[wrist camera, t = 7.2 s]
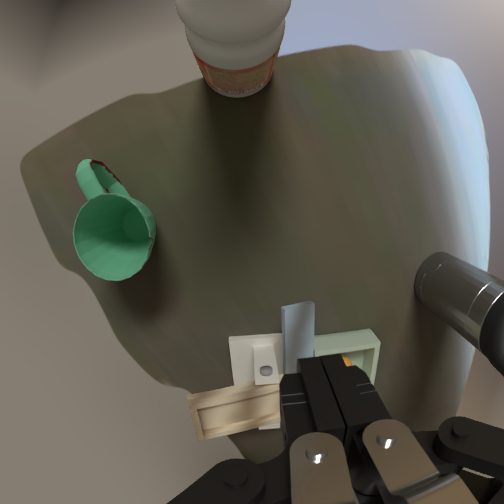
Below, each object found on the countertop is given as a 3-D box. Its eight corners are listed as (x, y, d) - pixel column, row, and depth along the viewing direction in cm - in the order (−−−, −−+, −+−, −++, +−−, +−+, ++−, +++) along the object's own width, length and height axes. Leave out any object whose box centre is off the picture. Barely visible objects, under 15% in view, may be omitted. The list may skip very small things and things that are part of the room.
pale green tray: (369, 328, 45) (380, 342, 41) (363, 378, 48) (371, 393, 43) (308, 336, 45) (314, 351, 41) (307, 386, 48) (312, 403, 43)
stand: (295, 331, 45) (307, 367, 36) (295, 392, 48) (304, 430, 39) (228, 336, 45) (225, 373, 36) (236, 396, 48) (235, 436, 39)
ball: (347, 367, 41) (323, 360, 43) (345, 388, 42) (322, 381, 44) (358, 354, 44) (335, 348, 46) (355, 374, 45) (333, 368, 47)
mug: (184, 239, 41) (167, 259, 32) (127, 269, 42) (98, 294, 33) (137, 144, 38) (107, 137, 28) (83, 180, 39) (44, 183, 29)
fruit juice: (242, 113, 38) (237, 0, 10) (188, 74, 36) (111, -54, 9) (287, 65, 36) (346, -73, 9) (233, 28, 34) (222, -122, 7)
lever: (310, 300, 38) (322, 309, 35) (308, 401, 42) (317, 413, 39) (172, 326, 33) (174, 339, 30) (195, 430, 37) (199, 444, 34)
